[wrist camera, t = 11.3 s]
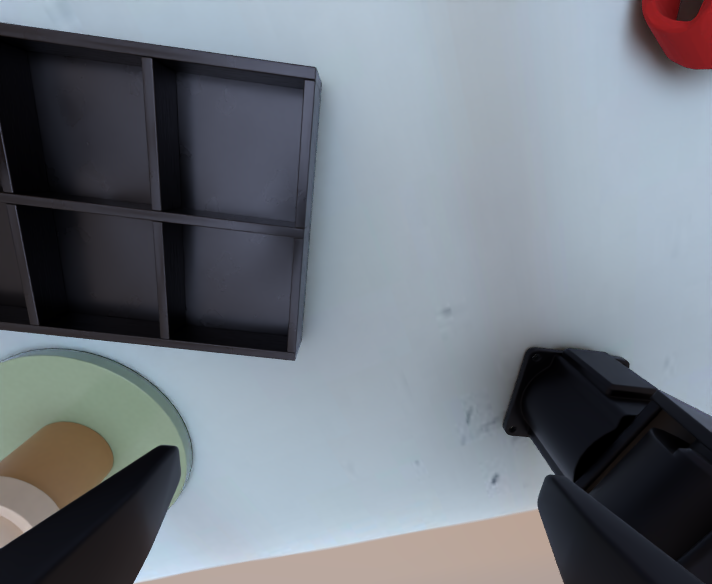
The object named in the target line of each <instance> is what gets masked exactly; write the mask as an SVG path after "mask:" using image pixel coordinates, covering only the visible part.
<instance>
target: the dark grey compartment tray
mask: <svg viewBox="0 0 712 584" xmlns="http://www.w3.org/2000/svg"><path fill="white" fill-rule="evenodd" d="M321 87H322V83H321V80H320V77H319V74H318V71H317V69H316V67H311V66H304V65H297V64H290V63H283V62H275V61H268V60H261V59H254V58H247V57H240V56H233V55H226V54H219V53H212V52H205V51H198V50H191V49H184V48H177V47H170V46H163V45H156V44H148V43H141V42H134V41H127V40H120V39H113V38H106V37H99V36H92V35H85V34H78V33H71V32H64V31H57V30H50V29H43V28H36V27H29V26H21V25H14V24H7V23H0V330H8V331H18V332H27V333H37V334H46V335H56V336H65V337H75V338H84V339H94V340H103V341H113V342H122V343H131V344H141V345H150V346H160V347H169V348H179V349H188V350H198V351H207V352H217V353H226V354H236V355H245V356H255V357H264V358H274V359H283V360H292V361H295V359H296V356H297V353H298V350H299V347H300V343H301V341H302V329H303V316H304V304H305V291H306V278H307V265H308V253H309V240H310V227H311V214H312V202H313V189H314V176H315V163H316V151H317V138H318V125H319V112H320V99H321Z"/></svg>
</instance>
